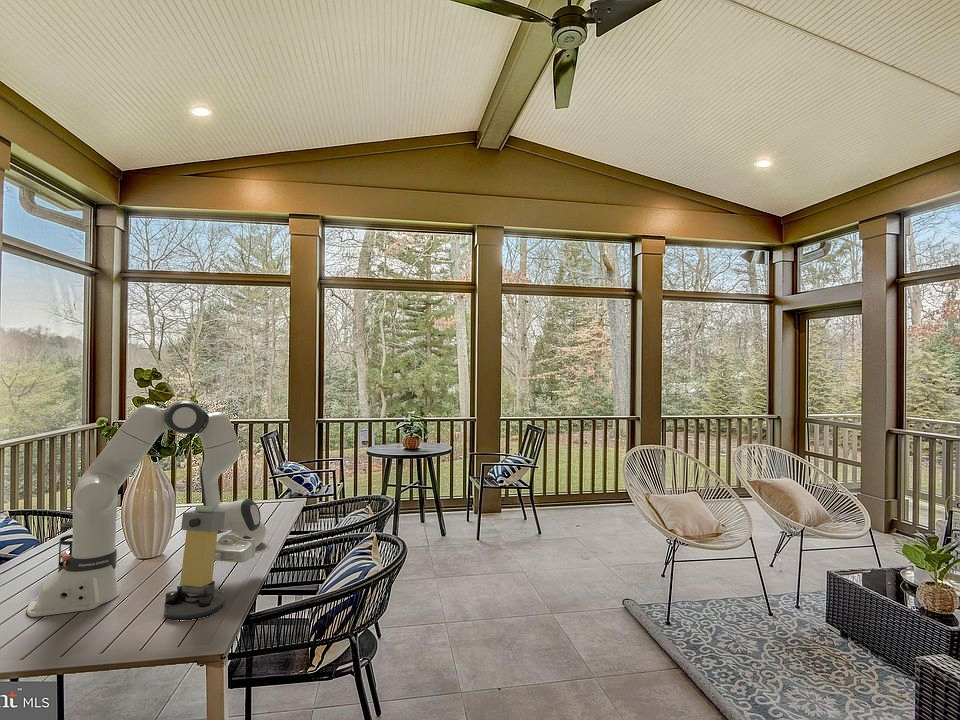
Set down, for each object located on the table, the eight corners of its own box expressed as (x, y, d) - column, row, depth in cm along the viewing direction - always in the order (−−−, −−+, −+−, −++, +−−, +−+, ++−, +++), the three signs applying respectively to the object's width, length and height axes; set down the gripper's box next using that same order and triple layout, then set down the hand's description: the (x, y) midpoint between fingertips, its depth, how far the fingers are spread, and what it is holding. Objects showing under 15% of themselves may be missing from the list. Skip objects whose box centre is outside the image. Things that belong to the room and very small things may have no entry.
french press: (87, 574, 182) (90, 508, 183) (53, 578, 178) (56, 510, 179) (94, 563, 193) (96, 500, 193) (62, 566, 189) (65, 502, 189)
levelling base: (201, 623, 150) (202, 599, 150) (151, 618, 152) (152, 594, 152) (235, 599, 166) (235, 577, 166) (189, 595, 168) (190, 573, 168)
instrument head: (198, 600, 153) (209, 509, 157) (168, 597, 155) (179, 506, 159) (216, 592, 161) (225, 505, 165) (186, 589, 163) (197, 503, 166)
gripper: (203, 534, 178) (174, 547, 164) (259, 538, 175) (234, 552, 162) (202, 553, 178) (173, 568, 164) (259, 557, 175) (233, 573, 161)
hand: (204, 560), depth 163 cm, fingers closed, pressing on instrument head
